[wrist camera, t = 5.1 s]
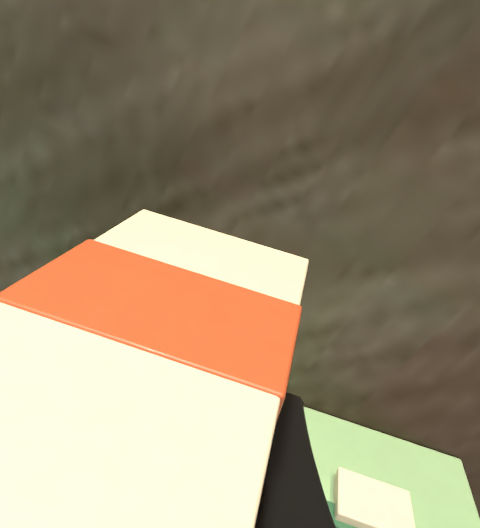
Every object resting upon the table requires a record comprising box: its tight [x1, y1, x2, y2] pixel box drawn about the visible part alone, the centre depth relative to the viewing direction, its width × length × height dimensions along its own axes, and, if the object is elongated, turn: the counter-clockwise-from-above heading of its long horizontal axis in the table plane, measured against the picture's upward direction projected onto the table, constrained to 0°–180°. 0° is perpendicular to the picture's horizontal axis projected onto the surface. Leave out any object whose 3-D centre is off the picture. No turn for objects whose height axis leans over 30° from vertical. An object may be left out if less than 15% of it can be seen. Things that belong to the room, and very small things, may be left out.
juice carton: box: [0, 210, 309, 528], centre depth 9 cm, size 4×6×8 cm
